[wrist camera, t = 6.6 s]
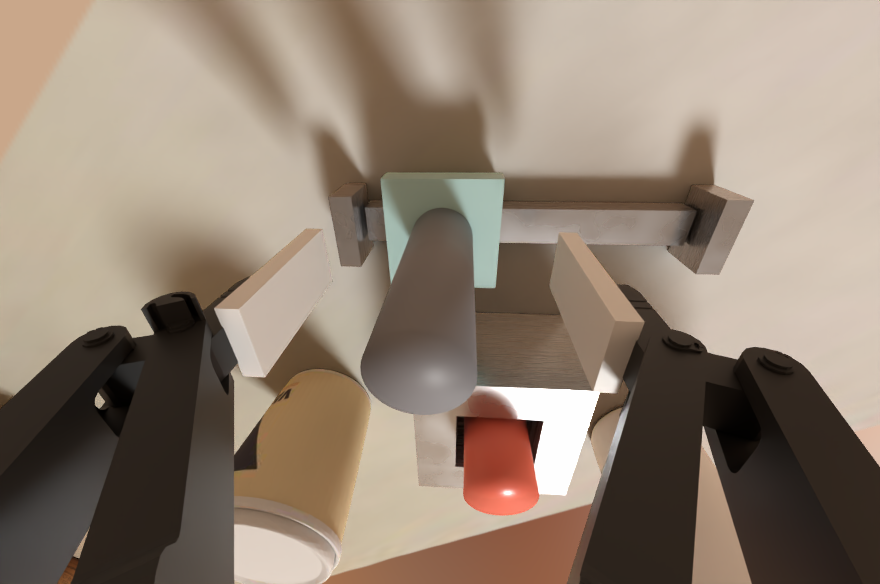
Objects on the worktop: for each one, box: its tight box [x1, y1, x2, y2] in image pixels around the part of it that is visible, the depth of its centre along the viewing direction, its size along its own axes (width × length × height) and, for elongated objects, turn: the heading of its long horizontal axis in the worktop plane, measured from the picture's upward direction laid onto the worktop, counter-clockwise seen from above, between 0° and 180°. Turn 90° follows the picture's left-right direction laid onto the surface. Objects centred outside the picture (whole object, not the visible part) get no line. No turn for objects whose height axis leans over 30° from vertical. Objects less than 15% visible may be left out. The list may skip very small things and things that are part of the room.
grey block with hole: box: [414, 312, 599, 495], centre depth 24 cm, size 10×10×7 cm
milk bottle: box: [591, 408, 752, 584], centre depth 21 cm, size 8×8×20 cm
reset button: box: [463, 416, 539, 515], centre depth 21 cm, size 4×4×6 cm
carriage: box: [361, 172, 505, 415], centre depth 15 cm, size 6×6×13 cm
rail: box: [328, 183, 754, 275], centre depth 19 cm, size 21×4×3 cm, turn 91°
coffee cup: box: [234, 369, 371, 584], centre depth 25 cm, size 9×9×12 cm
